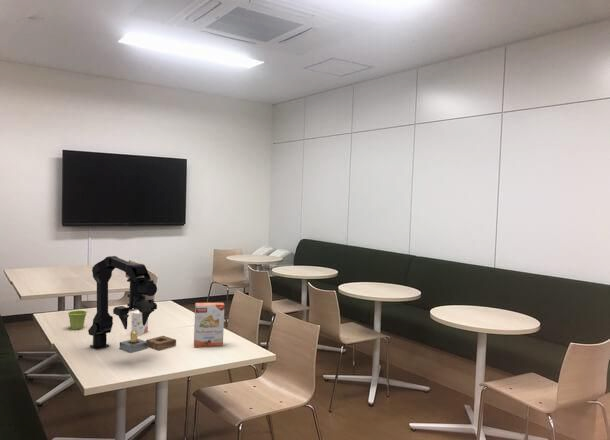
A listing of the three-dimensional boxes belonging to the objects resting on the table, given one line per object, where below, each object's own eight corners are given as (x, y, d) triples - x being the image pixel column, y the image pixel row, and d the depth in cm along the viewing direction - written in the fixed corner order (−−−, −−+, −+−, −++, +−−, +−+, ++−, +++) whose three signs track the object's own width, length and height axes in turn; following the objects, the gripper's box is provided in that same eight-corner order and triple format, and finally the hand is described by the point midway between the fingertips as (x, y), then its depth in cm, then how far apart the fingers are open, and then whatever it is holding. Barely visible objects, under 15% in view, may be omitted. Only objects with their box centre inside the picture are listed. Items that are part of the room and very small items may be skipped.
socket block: (119, 348, 222) (119, 342, 222) (136, 344, 229) (136, 338, 229) (130, 352, 217) (131, 346, 217) (147, 348, 224) (147, 342, 224)
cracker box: (194, 348, 227) (195, 305, 226) (193, 344, 233) (194, 302, 232) (223, 346, 231) (224, 304, 230) (222, 343, 237) (223, 301, 236)
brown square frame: (145, 346, 227) (146, 339, 227) (163, 341, 235) (163, 335, 235) (158, 350, 221) (158, 344, 221) (175, 345, 229) (176, 339, 229)
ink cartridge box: (139, 330, 253) (140, 303, 253) (148, 331, 252) (148, 304, 252) (130, 334, 245) (131, 306, 244) (139, 335, 244) (140, 307, 243)
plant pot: (90, 326, 257) (90, 311, 257) (80, 331, 248) (80, 315, 247) (74, 325, 258) (74, 310, 258) (63, 330, 249) (63, 314, 248)
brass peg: (128, 348, 223) (129, 331, 222) (134, 347, 225) (134, 330, 225) (132, 349, 221) (133, 333, 221) (138, 348, 223) (138, 331, 223)
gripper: (127, 298, 197) (126, 335, 197) (165, 292, 212) (163, 327, 212) (113, 294, 203) (111, 329, 204) (150, 289, 218) (148, 322, 219)
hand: (135, 327), depth 210 cm, fingers open, 9 cm apart
